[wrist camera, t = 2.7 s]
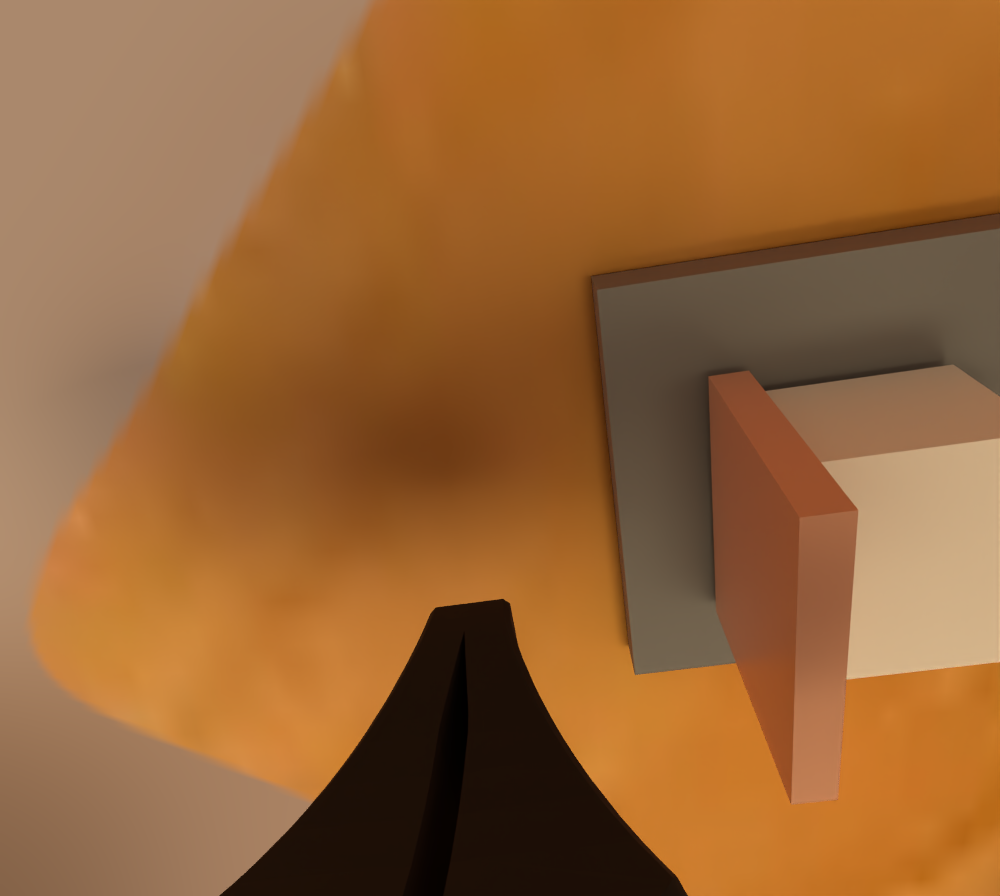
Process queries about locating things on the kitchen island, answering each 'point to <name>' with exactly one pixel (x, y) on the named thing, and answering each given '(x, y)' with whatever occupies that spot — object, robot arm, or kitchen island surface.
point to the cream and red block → (851, 544)
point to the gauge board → (761, 383)
